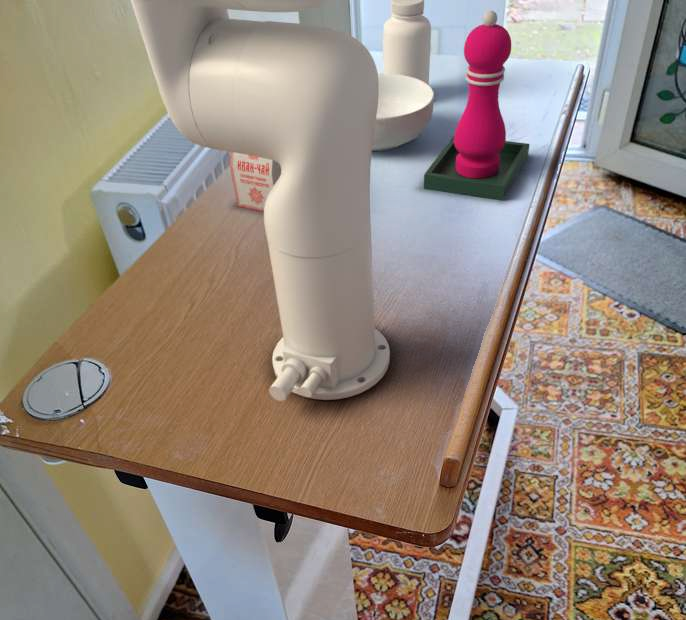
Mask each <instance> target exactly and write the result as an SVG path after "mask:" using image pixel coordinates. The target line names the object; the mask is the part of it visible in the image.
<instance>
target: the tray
mask: <svg viewBox="0 0 686 620" xmlns="http://www.w3.org/2000/svg"><path fill="white" fill-rule="evenodd" d="M454 136H455V134H454V135H453V136H452V138H451V139H450V140H449V141H448V142H447V144H446V145H445V146H444V148H443V149H442V150H441V152H440V153H439V154H438V155H437V157H436V158H435V159H434V161H433V162H432V164H430V166H429V167H428V169H427V170H426V171H425V172H424V175H423V189H426V190H432V191H439V192H445V193H452V194H457V195H465V196H471V197H477V198H484V199H491V200H498V201H504V199H505V197H506V195H507V194H508V192H509V191H510V189H511V187H512V185H513V183H514V182H515V181H516V178H517V177H518V175H519V173H520V172H521V170H522V168H523V166H524V165H525V163H526V161H527V159H528V158H529V152H530V146H531V145H530V143H527V142H517V141H510V140H506V141H505V145H504V147H503V148H502V149H501V151H500V152H499V153H498V154H499V156H500V163H499V170H498V172H497V173H496V174H494V175H493V176H490V177H487V178H481V179H474V178H467V177H464V176H462V175H460V174H459V173H458V172H457V171H456V157H457V155H458V154H459V152H458V151H457V149H456V148H455V145H454Z"/></svg>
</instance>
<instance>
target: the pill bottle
mask: <svg viewBox="0 0 686 620" xmlns="http://www.w3.org/2000/svg"><path fill="white" fill-rule="evenodd" d="M424 10H425V0H391V1H390V15H391V16H390V17H389V18H387V20H386V21H385V22H384V24H383V28H382V74H396V75H403V76H409V77H413V78H416V79H419V80H421V81H423V82H425V83H426V84H428V85H429V86H430V67H431V65H430V64H431V39H432V26H431V25H432V24H431V22H430V20H429V19H428V18H427V17H426V16H424V13H425V11H424Z"/></svg>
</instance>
